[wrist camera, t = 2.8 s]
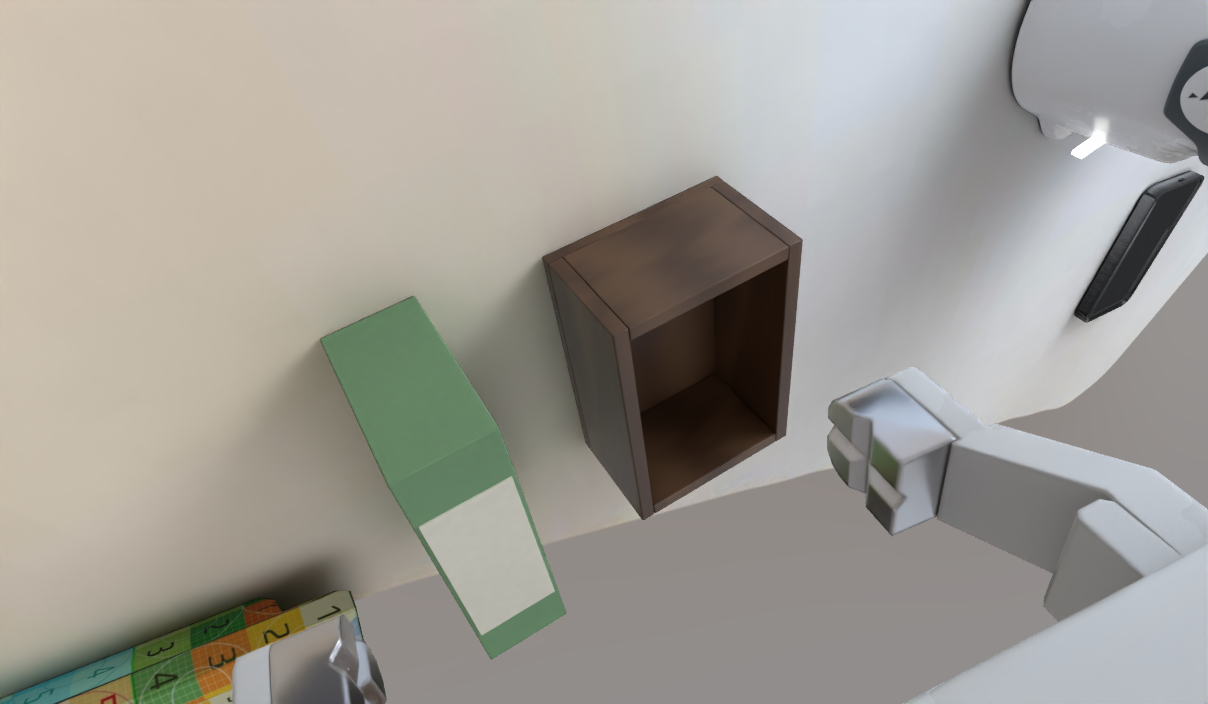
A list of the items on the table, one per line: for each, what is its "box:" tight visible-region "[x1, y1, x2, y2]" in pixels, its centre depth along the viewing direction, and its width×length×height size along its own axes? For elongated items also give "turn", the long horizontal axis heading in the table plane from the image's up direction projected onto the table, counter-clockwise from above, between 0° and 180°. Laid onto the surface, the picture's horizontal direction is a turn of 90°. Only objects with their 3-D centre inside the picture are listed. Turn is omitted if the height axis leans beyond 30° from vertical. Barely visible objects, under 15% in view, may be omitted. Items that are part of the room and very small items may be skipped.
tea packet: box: [320, 296, 566, 659], centre depth 36 cm, size 4×16×9 cm, turn 10°
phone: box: [1075, 171, 1204, 323], centre depth 73 cm, size 8×1×15 cm
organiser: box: [543, 176, 803, 520], centre depth 41 cm, size 10×15×7 cm
